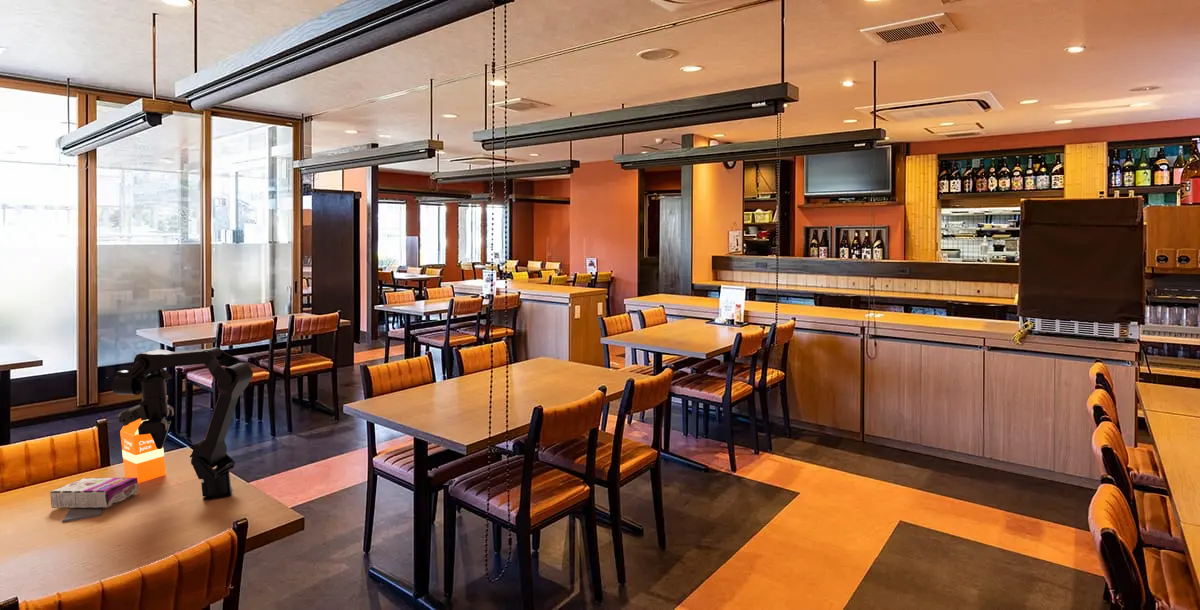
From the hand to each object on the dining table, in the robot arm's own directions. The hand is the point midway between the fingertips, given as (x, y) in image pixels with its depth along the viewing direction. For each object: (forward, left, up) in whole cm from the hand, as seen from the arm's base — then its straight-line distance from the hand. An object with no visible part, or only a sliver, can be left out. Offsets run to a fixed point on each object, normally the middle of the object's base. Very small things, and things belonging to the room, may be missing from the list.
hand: (159, 448), depth 187 cm
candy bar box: (+9, +4, -10) cm, 14 cm away
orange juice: (+7, -17, -13) cm, 23 cm away
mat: (+17, +5, -13) cm, 22 cm away
